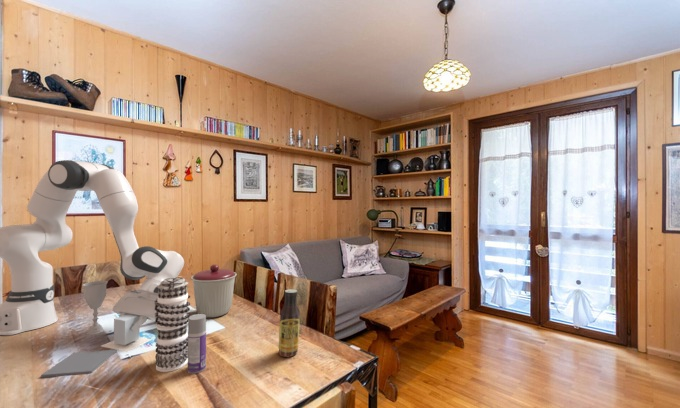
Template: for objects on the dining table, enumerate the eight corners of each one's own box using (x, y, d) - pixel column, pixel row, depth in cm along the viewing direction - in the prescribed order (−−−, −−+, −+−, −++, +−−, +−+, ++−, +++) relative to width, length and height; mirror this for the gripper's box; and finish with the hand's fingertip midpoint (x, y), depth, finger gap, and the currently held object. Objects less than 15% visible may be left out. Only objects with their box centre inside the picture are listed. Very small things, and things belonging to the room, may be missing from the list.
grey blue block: (113, 342, 97) (114, 318, 97) (128, 336, 102) (128, 313, 102) (124, 345, 95) (125, 320, 95) (139, 338, 100) (139, 315, 100)
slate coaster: (41, 377, 79) (41, 374, 79) (73, 355, 91) (73, 352, 91) (91, 373, 81) (91, 370, 81) (116, 352, 93) (116, 349, 93)
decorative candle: (157, 359, 89) (158, 276, 89) (191, 353, 92) (192, 274, 92) (150, 375, 80) (150, 284, 80) (187, 369, 83) (188, 281, 83)
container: (201, 362, 87) (201, 312, 87) (208, 368, 84) (209, 316, 84) (184, 369, 83) (185, 317, 83) (192, 375, 80) (192, 321, 80)
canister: (180, 319, 119) (181, 268, 119) (208, 304, 136) (208, 259, 136) (221, 323, 115) (221, 270, 115) (244, 307, 133) (244, 261, 133)
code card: (100, 346, 96) (100, 346, 96) (127, 335, 105) (127, 334, 105) (126, 352, 92) (126, 351, 92) (152, 339, 101) (152, 339, 101)
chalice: (92, 337, 102) (92, 286, 102) (76, 335, 104) (77, 285, 104) (112, 329, 110) (113, 281, 110) (97, 327, 111) (98, 280, 111)
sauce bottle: (279, 359, 89) (279, 294, 89) (277, 349, 95) (278, 288, 95) (300, 356, 91) (301, 292, 91) (298, 347, 97) (298, 287, 97)
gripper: (125, 284, 108) (96, 321, 99) (168, 290, 102) (141, 329, 93) (136, 293, 112) (109, 328, 103) (178, 298, 106) (153, 337, 97)
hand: (125, 329), depth 98 cm, fingers closed on grey blue block, 5 cm apart
